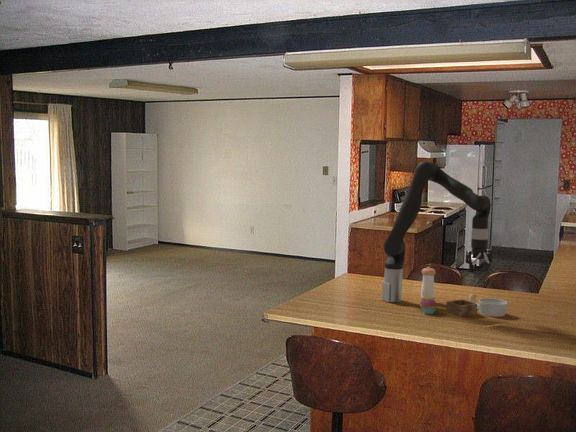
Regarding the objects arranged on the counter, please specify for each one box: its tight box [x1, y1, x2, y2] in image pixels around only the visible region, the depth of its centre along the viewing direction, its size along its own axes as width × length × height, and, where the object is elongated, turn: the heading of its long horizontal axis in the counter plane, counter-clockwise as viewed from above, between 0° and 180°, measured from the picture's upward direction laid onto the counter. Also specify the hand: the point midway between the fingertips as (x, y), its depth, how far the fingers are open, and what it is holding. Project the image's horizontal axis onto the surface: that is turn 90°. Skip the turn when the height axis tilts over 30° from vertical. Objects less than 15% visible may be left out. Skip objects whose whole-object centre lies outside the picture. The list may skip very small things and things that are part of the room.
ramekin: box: [478, 297, 509, 318], centre depth 292 cm, size 13×13×7 cm
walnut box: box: [445, 298, 478, 318], centre depth 291 cm, size 10×10×6 cm
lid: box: [468, 293, 479, 310], centre depth 304 cm, size 10×10×6 cm
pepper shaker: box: [419, 266, 437, 304], centre depth 311 cm, size 7×7×19 cm
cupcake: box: [419, 291, 439, 315], centre depth 291 cm, size 9×8×12 cm
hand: (478, 271), depth 289 cm, fingers open, 8 cm apart
